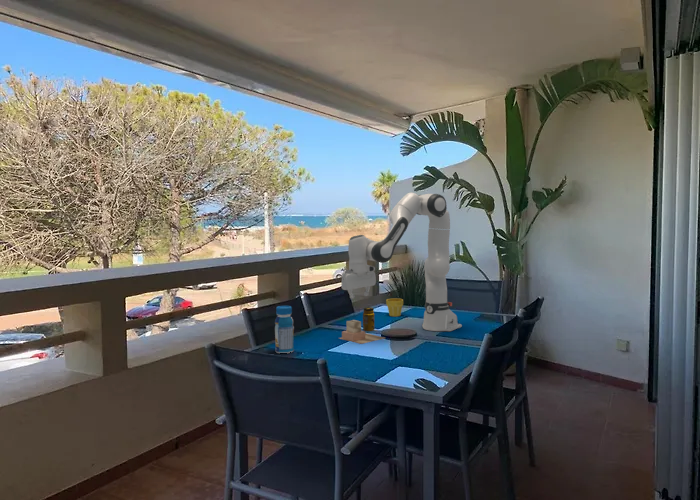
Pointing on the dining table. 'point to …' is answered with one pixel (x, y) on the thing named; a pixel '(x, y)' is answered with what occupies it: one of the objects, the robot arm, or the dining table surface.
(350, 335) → the terracotta block
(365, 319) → the condiment
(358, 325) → the maple cube
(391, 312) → the plant pot
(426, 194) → the robot arm
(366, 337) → the cork placemat
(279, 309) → the beverage bottle
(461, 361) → the dining table surface
